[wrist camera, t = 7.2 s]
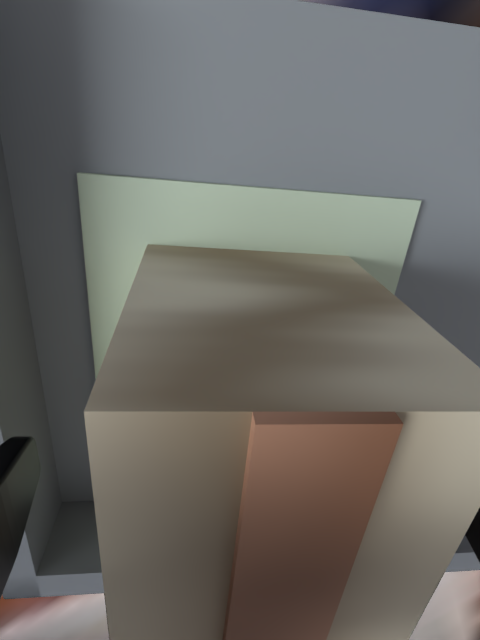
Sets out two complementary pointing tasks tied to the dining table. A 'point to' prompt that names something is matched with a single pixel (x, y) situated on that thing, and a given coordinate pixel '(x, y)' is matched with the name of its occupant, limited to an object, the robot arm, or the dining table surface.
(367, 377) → the birch block
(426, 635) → the dining table surface
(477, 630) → the dining table surface
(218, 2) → the corner arena
